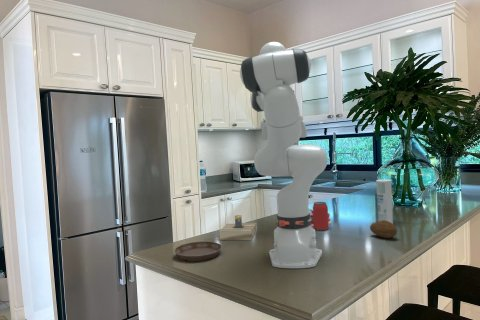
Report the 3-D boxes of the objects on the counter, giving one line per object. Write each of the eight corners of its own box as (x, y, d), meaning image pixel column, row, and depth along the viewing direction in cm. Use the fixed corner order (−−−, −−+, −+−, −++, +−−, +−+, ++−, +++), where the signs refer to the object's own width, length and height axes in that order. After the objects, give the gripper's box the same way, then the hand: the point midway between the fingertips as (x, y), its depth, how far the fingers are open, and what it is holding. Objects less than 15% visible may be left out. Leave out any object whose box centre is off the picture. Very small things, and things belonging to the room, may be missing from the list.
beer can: (329, 230, 158) (327, 203, 157) (313, 230, 159) (312, 204, 159) (328, 227, 164) (327, 201, 164) (313, 227, 166) (312, 201, 165)
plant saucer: (232, 253, 134) (231, 245, 134) (193, 267, 122) (193, 258, 122) (203, 246, 147) (202, 238, 147) (166, 257, 135) (165, 249, 135)
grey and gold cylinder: (241, 236, 157) (240, 216, 157) (235, 236, 158) (234, 216, 158) (243, 234, 160) (241, 214, 160) (236, 234, 161) (235, 215, 161)
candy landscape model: (292, 231, 162) (290, 211, 162) (270, 222, 184) (269, 204, 184) (339, 224, 170) (338, 204, 170) (313, 215, 192) (312, 198, 192)
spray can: (396, 224, 161) (394, 180, 161) (384, 225, 160) (382, 181, 159) (386, 221, 168) (384, 179, 167) (375, 223, 166) (372, 180, 165)
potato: (376, 233, 148) (375, 217, 148) (403, 238, 139) (402, 220, 139) (366, 236, 144) (365, 219, 144) (393, 242, 135) (392, 223, 135)
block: (252, 239, 151) (251, 230, 151) (219, 240, 154) (219, 231, 153) (257, 231, 164) (256, 223, 164) (227, 232, 167) (226, 223, 167)
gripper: (259, 119, 159) (261, 150, 160) (305, 116, 155) (307, 147, 156) (261, 120, 166) (263, 150, 166) (306, 116, 161) (307, 147, 162)
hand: (284, 149), depth 161 cm, fingers open, 8 cm apart
